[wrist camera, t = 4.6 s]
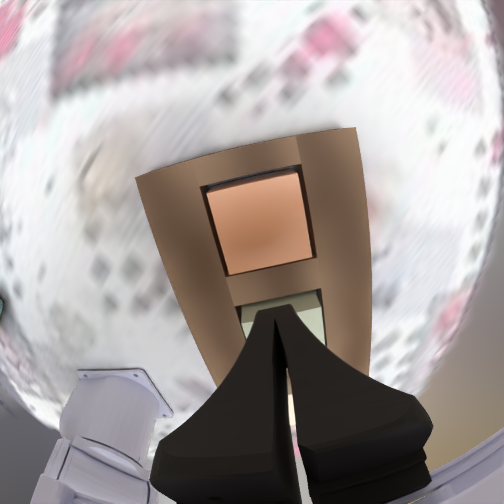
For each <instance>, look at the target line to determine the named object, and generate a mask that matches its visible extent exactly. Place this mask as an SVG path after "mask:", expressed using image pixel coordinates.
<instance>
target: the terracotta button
mask: <svg viewBox="0 0 504 504" xmlns="http://www.w3.org/2000/svg"><path fill="white" fill-rule="evenodd" d="M207 197H208V201H209V204H210V208H211V212H212V215H213V219H214V223H215V226H216V230H217V233H218V237H219V240H220V244H221V247H222V251H223V254H224V258H225V261H226V265H227V268H228V271H229V275H231V274H236V273H241V272H245V271H250V270H255V269H260V268H264V267H269V266H274V265H278V264H283V263H288V262H292V261H297V260H301V259H306V258H310V257H312V253H311V246H310V240H309V234H308V228H307V222H306V216H305V210H304V205H303V199H302V194H301V189H300V183H299V178H298V173H296V172H295V171H293V170H292V169H287V170H282V171H277V172H272V173H267V174H262V175H258V176H253V177H249V178H245V179H240V180H236V181H232V182H228V183H223V184H219V185H215V186H212V187H211V189H210V190H209V191H208V192H207Z"/></svg>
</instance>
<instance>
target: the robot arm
mask: <svg viewBox="0 0 504 504" xmlns="http://www.w3.org/2000/svg"><path fill="white" fill-rule="evenodd" d="M287 370H288V374H289V377H290V382H291V389H292V397H293V405H294V413H295V423H296V432H297V443H298V447H299V451H300V454H301V458H302V461H303V465H304V468H305V472H306V475H307V482H308V489H309V495H310V497H311V500H312V503H313V504H408V503H410V502H412V501H415V500H417V499H419V498H421V499H420V500H418V501H416V502H414V503H412V504H504V427H503V428H502V429H501V430H499V431H498V432H497V433H495V434H494V435H492V436H491V437H489V438H488V439H486V440H485V441H484V442H482V443H480V444H479V445H477V446H476V447H474V448H473V449H471V450H469V451H468V452H466V453H464V454H463V455H461V456H459V457H457V458H456V459H454V460H452V461H450V462H449V463H447V464H445V465H443V466H441V467H439V468H437V469H435V470H433V471H431V472H429V471H428V469H427V466H426V464H425V460H426V458H427V457H426V454H425V452H424V449H423V446H424V445H425V443H426V441H427V440H428V438H429V436H430V434H431V432H432V429H433V424H432V421H431V419H430V417H429V415H428V414H427V412H426V410H425V409H424V408H423V407H422V405H421V404H420V403H419V401H418V400H417V399H416V397H415V396H413V395H410V394H407V393H405V392H402V391H399V390H396V389H394V388H391V387H389V386H387V385H384V384H382V383H380V382H378V381H376V380H374V379H372V378H371V377H369V376H367V375H365V374H364V373H362V372H360V371H358V370H357V369H355V368H353V367H352V366H351V365H349V364H348V363H346V362H345V361H343V360H342V359H341V358H339V357H338V356H337V355H336V354H334V353H333V352H332V351H331V350H330V349H328V348H327V347H326V346H325V345H324V344H323V343H322V342H321V341H320V340H319V339H318V338H317V337H316V336H315V335H314V334H313V333H312V332H311V331H310V330H309V328H308V327H307V326H306V325H305V324H304V323H303V321H302V320H301V319H300V317H299V316H298V314H297V313H296V311H295V310H294V308H293V306H292V305H291V304H286V305H281V306H277V307H272V308H267V309H263V310H258V311H257V312H256V315H255V318H254V321H253V324H252V327H251V330H250V332H249V335H248V337H247V339H246V341H245V344H244V346H243V348H242V350H241V352H240V354H239V356H238V357H237V359H236V361H235V363H234V365H233V366H232V368H231V370H230V371H229V373H228V374H227V376H226V377H225V378H224V380H223V381H222V383H221V384H220V385H219V387H218V388H217V389H216V390H215V392H214V393H213V394H212V395H211V397H210V398H209V399H208V400H207V401H206V402H205V403H204V404H203V405H202V406H201V407H200V408H199V409H198V410H197V411H196V412H195V413H194V414H193V415H192V416H191V417H190V418H189V419H188V420H187V421H186V422H184V423H183V424H182V425H181V426H179V427H178V428H177V429H176V430H174V431H173V432H172V433H170V434H169V435H168V436H166V437H165V438H163V439H162V440H160V441H159V444H158V447H157V450H156V452H155V456H154V460H153V465H152V470H151V474H150V479H148V476H149V471H148V470H146V469H144V466H145V462H146V458H147V454H148V449H149V445H150V441H151V437H152V433H153V429H154V426H155V422H156V418H172V417H173V412H172V411H171V410H170V408H169V407H168V406H167V404H166V403H165V401H164V400H163V399H162V397H161V396H160V394H159V393H158V391H157V390H156V388H155V387H154V385H153V384H152V382H151V381H150V379H149V378H148V376H147V375H146V373H145V372H144V371H143V370H140V369H138V370H111V371H77V372H76V375H77V377H78V378H79V381H78V383H77V385H76V387H75V388H74V390H73V392H72V394H71V396H70V398H69V400H68V402H67V404H66V406H65V408H64V409H63V411H62V414H61V417H60V433H61V436H62V438H63V439H58V441H57V443H56V445H55V447H54V449H53V452H52V454H51V456H50V459H49V461H48V463H47V466H46V468H45V471H44V474H41V475H40V478H39V480H38V484H37V486H36V489H35V491H34V494H33V497H32V500H31V503H30V504H158V492H157V491H159V492H161V493H162V494H164V495H165V496H167V497H168V498H170V499H172V500H174V501H175V502H177V504H302V500H301V494H300V488H299V481H298V475H297V468H296V462H295V455H294V449H293V442H292V435H291V428H290V421H289V405H288V384H287ZM430 493H431V494H430ZM428 494H429V495H428ZM426 495H427V496H426ZM424 496H425V497H424ZM422 497H423V498H422Z"/></svg>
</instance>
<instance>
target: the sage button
mask: <svg viewBox="0 0 504 504" xmlns="http://www.w3.org/2000/svg"><path fill="white" fill-rule="evenodd" d="M286 304H291V305H292V306H293V308H294V310H295V311H296V313H297V314H298V316H299V317H300V319H301V320H302V321H303V323H304V324H305V325H306V326H307V327H308V328H309V330H310V331H311V332H312V333H313V334H314V335H315V336H316V337H317V338H318V339H319V340H320V341H321V342H322V343H323V344H324V345H325V339H324V329H323V319H322V310H321V305H320V303H319V300H318V298H317V295H316V293H315V291H314V290H310V291H306V292H301V293H297V294H292V295H288V296H283V297H278V298H273V299H269V300H264V301H259V302H254V303H249V304H244V305H242V319H241V324H242V327H243V330H244V333H245V336H246V339H247V337H248V335H249V332H250V330H251V327H252V324H253V321H254V318H255V315H256V312H257V311H258V310H263V309H267V308H272V307H277V306H281V305H286Z"/></svg>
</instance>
